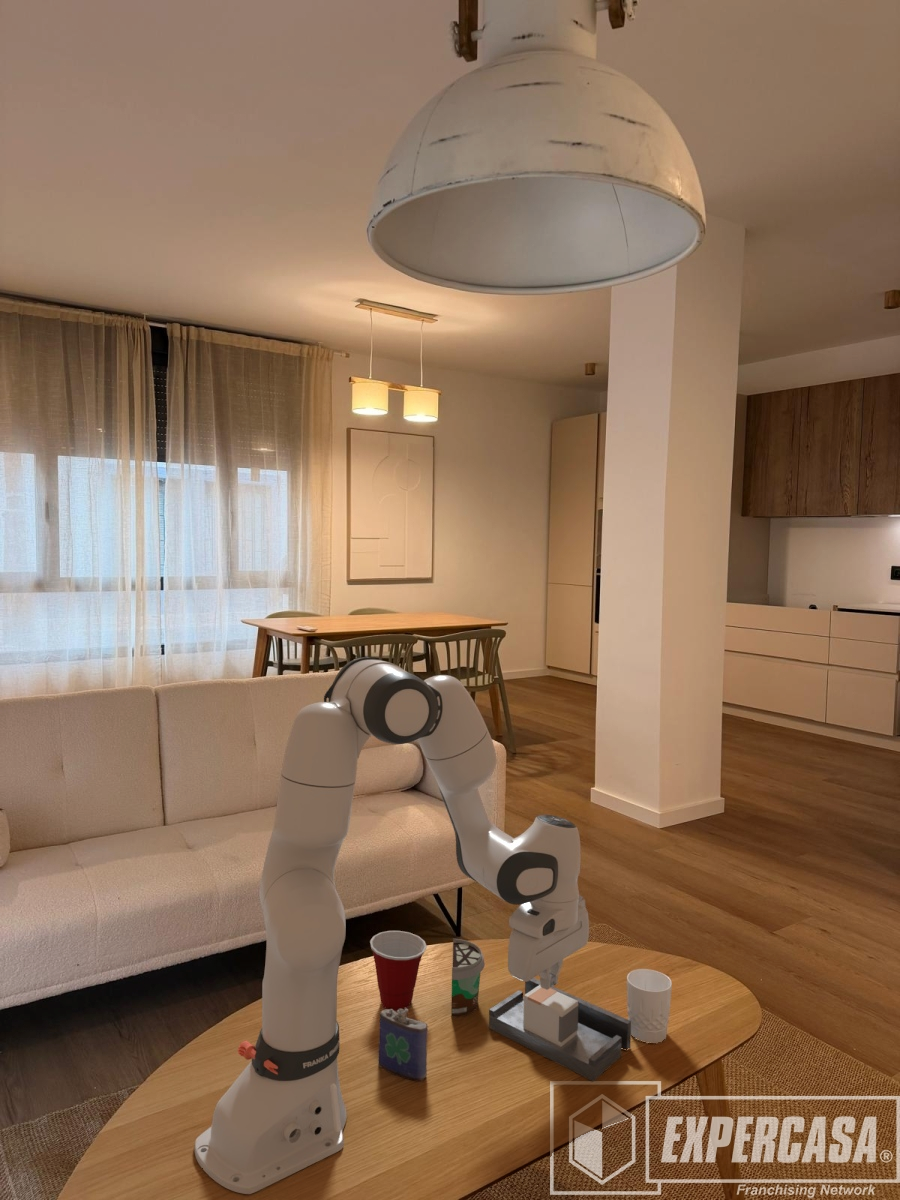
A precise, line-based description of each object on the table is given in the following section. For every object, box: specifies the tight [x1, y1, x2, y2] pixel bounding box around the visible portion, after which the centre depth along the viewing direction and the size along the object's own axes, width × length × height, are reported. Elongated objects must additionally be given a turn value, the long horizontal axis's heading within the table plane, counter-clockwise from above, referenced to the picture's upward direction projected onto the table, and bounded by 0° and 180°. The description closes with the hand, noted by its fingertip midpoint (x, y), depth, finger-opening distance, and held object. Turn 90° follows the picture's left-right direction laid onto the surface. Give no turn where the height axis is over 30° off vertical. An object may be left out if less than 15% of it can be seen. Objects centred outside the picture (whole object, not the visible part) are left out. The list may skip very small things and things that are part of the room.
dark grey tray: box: [488, 977, 632, 1082], centre depth 146 cm, size 12×22×5 cm, turn 49°
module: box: [523, 985, 578, 1047], centre depth 144 cm, size 5×8×6 cm, turn 49°
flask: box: [378, 1008, 429, 1083], centre depth 136 cm, size 9×3×11 cm, turn 59°
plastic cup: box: [369, 930, 427, 1012], centre depth 156 cm, size 11×11×12 cm
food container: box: [450, 938, 485, 1018], centre depth 156 cm, size 12×6×10 cm, turn 179°
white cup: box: [626, 968, 673, 1044], centre depth 148 cm, size 8×8×10 cm
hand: (548, 985), depth 143 cm, fingers closed
